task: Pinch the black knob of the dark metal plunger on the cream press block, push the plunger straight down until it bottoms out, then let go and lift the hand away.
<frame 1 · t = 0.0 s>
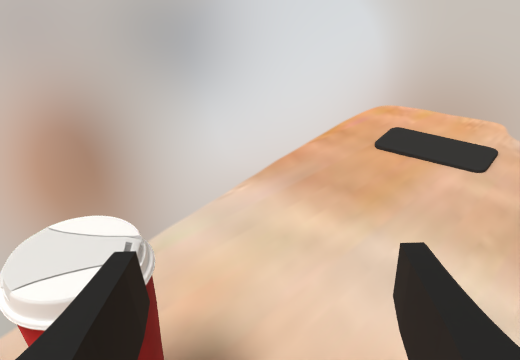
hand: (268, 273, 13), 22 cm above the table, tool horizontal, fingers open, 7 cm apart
phone: (433, 153, 67), on the table
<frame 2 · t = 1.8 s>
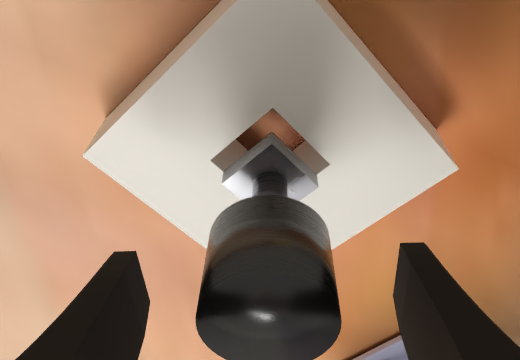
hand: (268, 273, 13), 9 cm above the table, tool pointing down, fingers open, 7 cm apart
press block: (270, 124, 21), on the table
plunger: (269, 234, 15), point 7 cm above the table, slide at 0.0 cm
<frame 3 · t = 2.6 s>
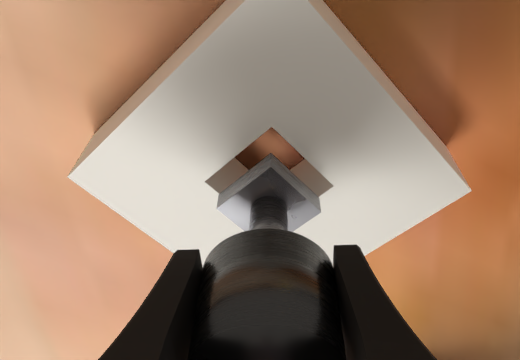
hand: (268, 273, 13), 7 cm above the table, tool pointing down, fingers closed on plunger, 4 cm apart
press block: (269, 140, 19), on the table
plunger: (268, 268, 14), point 7 cm above the table, slide at 0.0 cm, touching gripper
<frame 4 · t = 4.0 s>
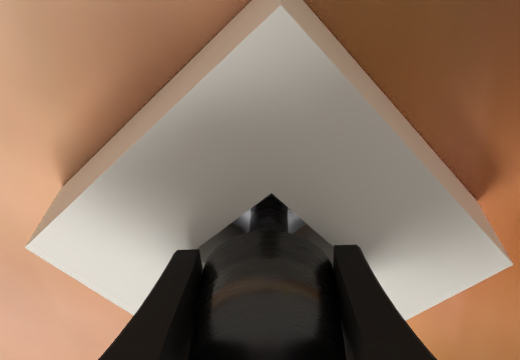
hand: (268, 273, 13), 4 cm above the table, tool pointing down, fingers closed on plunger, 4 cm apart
press block: (269, 194, 16), on the table
plunger: (268, 270, 14), point 4 cm above the table, slide at 3.5 cm, touching gripper
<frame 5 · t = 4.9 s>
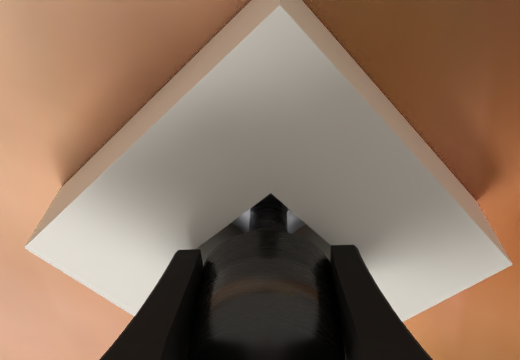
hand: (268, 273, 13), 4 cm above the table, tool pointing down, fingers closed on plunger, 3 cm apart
press block: (268, 194, 16), on the table
plunger: (267, 270, 14), point 4 cm above the table, slide at 3.5 cm, touching gripper
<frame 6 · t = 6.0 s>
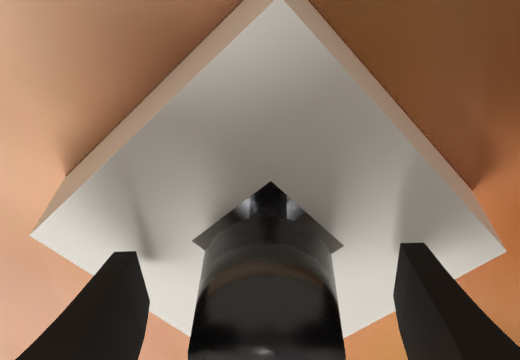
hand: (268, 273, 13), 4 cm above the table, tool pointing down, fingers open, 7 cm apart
press block: (268, 184, 17), on the table
plunger: (267, 256, 14), point 4 cm above the table, slide at 3.5 cm
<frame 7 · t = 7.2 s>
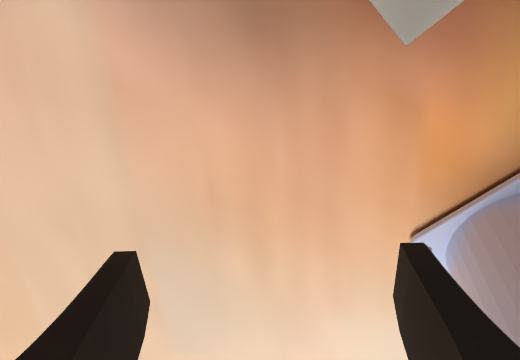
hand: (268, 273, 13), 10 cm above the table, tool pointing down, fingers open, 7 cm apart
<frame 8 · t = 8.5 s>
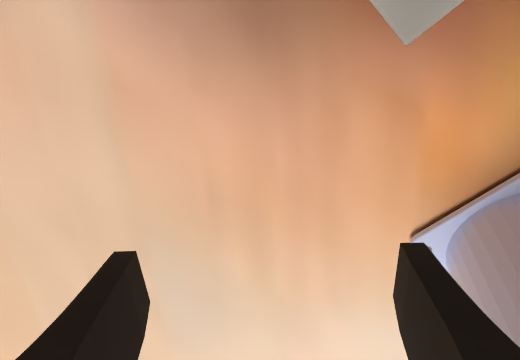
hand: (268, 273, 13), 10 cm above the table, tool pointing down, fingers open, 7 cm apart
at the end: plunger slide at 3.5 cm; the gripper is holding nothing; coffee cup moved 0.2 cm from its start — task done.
